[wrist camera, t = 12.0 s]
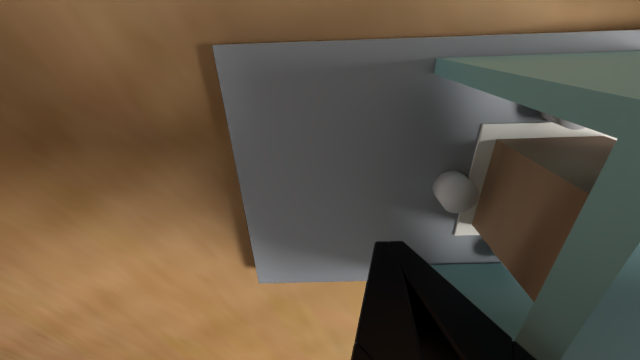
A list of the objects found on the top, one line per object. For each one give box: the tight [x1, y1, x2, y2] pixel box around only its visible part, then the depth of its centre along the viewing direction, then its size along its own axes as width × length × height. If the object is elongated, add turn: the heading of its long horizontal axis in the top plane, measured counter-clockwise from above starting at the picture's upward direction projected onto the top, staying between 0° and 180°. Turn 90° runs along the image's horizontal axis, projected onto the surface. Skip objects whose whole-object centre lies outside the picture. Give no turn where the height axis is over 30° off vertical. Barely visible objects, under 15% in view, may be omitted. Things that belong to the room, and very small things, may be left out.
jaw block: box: [472, 136, 617, 302], centre depth 9 cm, size 4×4×6 cm
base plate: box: [212, 29, 640, 283], centre depth 11 cm, size 17×11×2 cm, turn 92°
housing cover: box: [431, 51, 640, 360], centre depth 8 cm, size 7×10×7 cm
